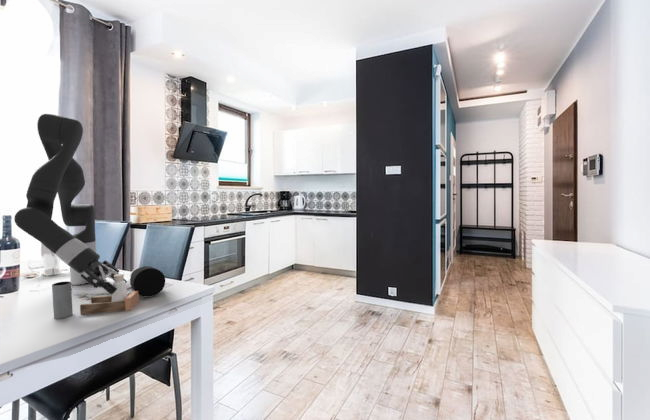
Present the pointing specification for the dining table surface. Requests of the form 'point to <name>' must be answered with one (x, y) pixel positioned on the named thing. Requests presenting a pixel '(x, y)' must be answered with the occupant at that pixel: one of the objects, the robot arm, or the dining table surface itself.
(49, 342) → the dining table surface
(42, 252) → the beer glass
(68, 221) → the robot arm
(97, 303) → the guide channel
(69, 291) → the planter
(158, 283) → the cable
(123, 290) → the pepper shaker
